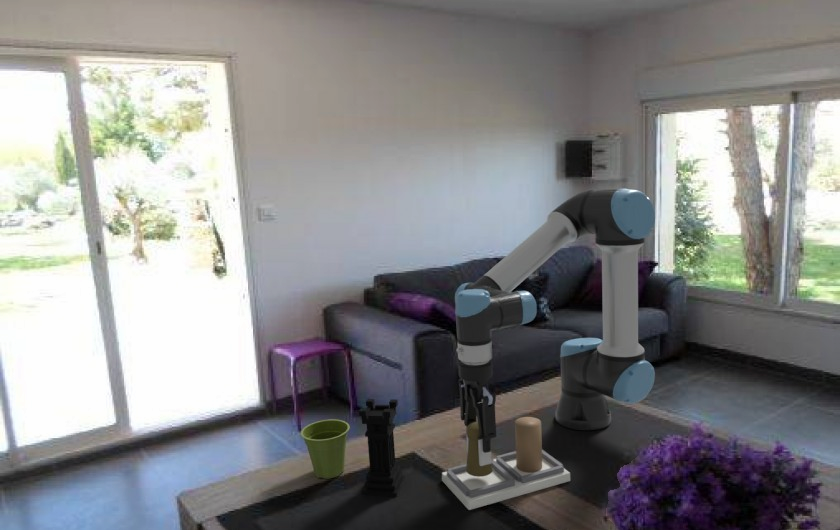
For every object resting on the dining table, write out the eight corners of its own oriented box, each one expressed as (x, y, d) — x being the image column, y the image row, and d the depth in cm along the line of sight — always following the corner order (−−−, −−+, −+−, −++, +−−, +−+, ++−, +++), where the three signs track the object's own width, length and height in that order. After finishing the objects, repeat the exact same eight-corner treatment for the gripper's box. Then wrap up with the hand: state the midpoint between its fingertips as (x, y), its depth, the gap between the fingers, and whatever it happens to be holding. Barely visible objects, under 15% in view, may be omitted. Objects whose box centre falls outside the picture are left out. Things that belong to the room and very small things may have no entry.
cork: (475, 479, 135) (473, 432, 133) (461, 468, 141) (458, 422, 139) (498, 471, 138) (496, 425, 136) (483, 461, 143) (481, 416, 141)
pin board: (536, 455, 154) (535, 406, 151) (570, 480, 141) (569, 427, 139) (442, 480, 144) (439, 428, 142) (468, 510, 131) (466, 453, 129)
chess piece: (396, 496, 138) (391, 412, 135) (362, 494, 140) (356, 411, 137) (404, 478, 146) (399, 398, 143) (372, 476, 148) (366, 398, 144)
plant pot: (333, 456, 160) (330, 415, 158) (362, 470, 151) (359, 427, 149) (295, 473, 151) (291, 430, 150) (323, 489, 143) (319, 444, 141)
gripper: (442, 351, 142) (447, 446, 146) (479, 375, 125) (483, 480, 129) (471, 346, 145) (475, 439, 149) (511, 368, 128) (514, 472, 132)
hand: (479, 458), depth 139 cm, fingers closed on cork, 5 cm apart
